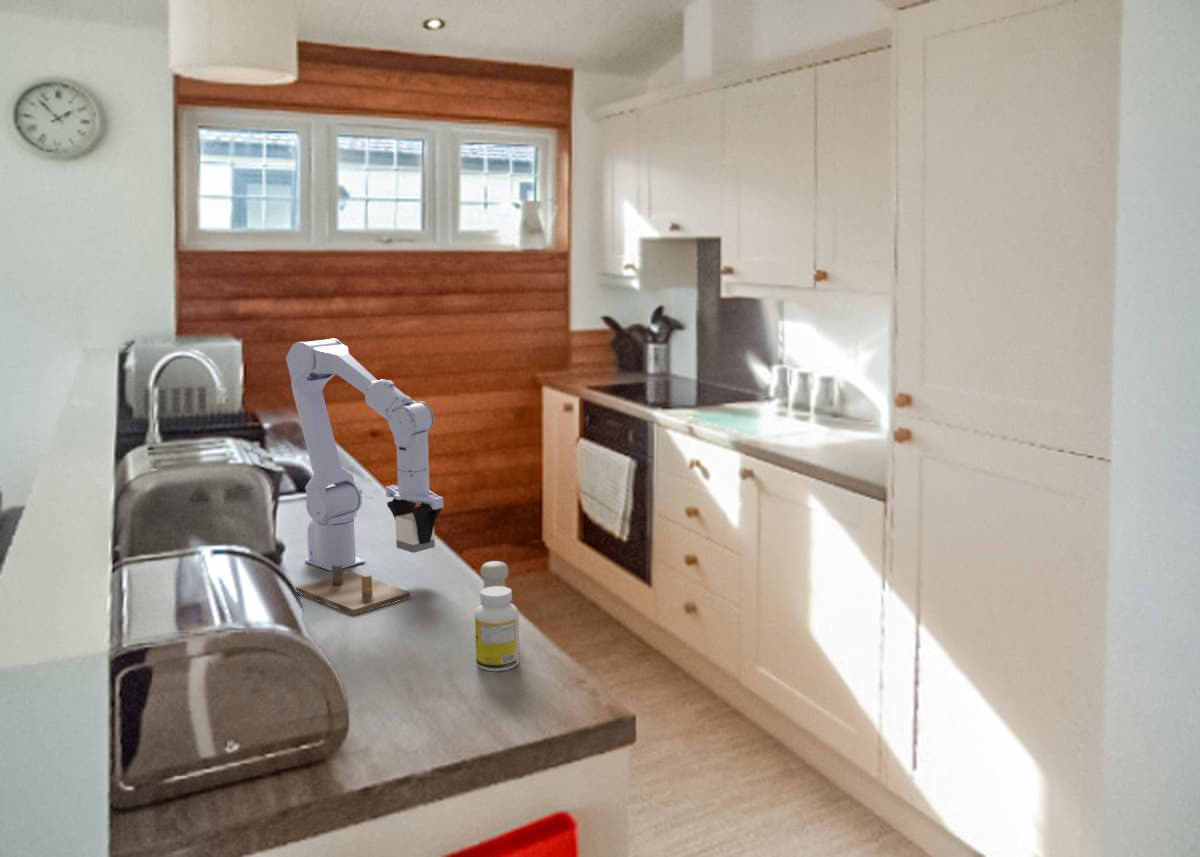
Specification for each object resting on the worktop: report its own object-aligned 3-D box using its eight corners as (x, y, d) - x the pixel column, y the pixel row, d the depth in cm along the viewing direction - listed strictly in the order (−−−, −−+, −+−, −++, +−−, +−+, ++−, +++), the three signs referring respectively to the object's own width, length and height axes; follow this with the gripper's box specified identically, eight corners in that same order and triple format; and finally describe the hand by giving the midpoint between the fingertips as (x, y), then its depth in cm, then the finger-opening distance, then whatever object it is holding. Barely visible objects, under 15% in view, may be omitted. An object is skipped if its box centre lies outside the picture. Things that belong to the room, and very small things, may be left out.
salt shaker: (508, 649, 168) (506, 569, 165) (472, 647, 169) (470, 567, 166) (518, 636, 173) (516, 558, 171) (484, 633, 174) (482, 556, 172)
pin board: (295, 592, 195) (294, 568, 194) (351, 576, 204) (350, 553, 203) (354, 615, 183) (352, 589, 182) (410, 597, 192) (409, 573, 191)
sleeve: (396, 547, 200) (395, 516, 199) (417, 541, 204) (416, 511, 203) (413, 552, 197) (412, 521, 196) (434, 547, 200) (433, 515, 199)
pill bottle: (495, 653, 166) (493, 581, 164) (528, 662, 163) (526, 589, 161) (467, 666, 161) (465, 592, 159) (500, 676, 157) (498, 601, 155)
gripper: (371, 466, 199) (374, 537, 202) (420, 478, 190) (422, 552, 192) (402, 460, 205) (404, 529, 207) (451, 471, 195) (453, 543, 197)
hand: (415, 539), depth 200 cm, fingers closed on sleeve, 5 cm apart
